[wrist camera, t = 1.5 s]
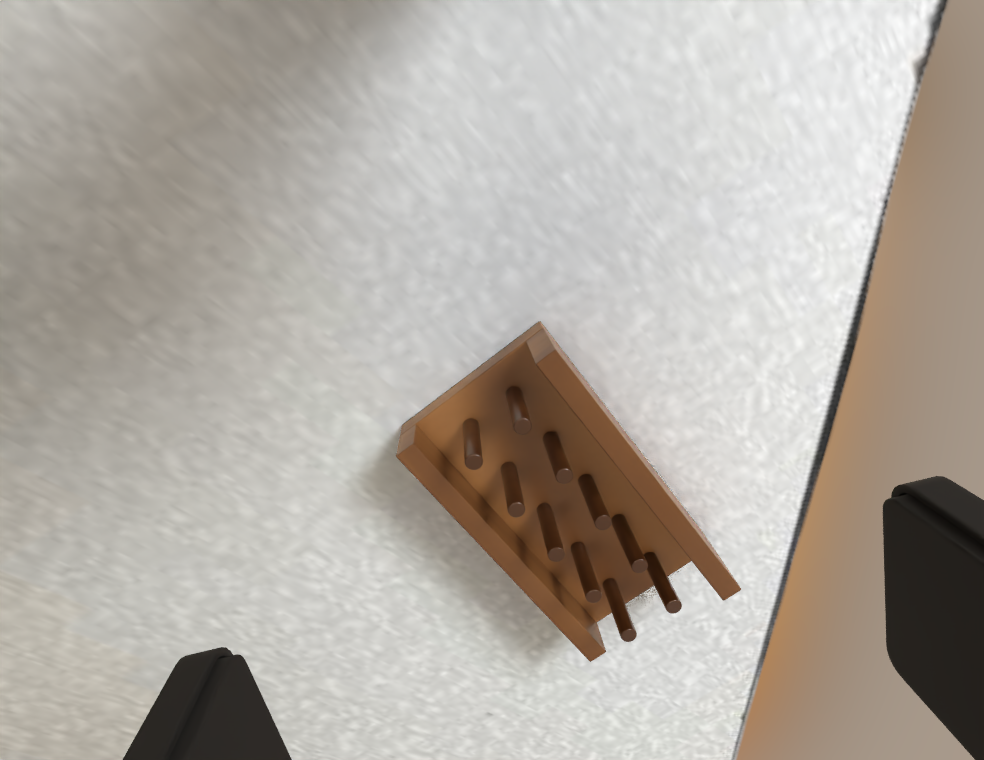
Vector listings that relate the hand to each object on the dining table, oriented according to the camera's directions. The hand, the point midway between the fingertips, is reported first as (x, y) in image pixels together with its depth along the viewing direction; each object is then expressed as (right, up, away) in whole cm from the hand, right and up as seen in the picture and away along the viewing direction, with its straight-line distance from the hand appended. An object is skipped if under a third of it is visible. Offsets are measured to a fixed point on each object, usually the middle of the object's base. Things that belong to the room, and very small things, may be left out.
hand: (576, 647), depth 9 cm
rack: (+3, -2, +29) cm, 29 cm away
